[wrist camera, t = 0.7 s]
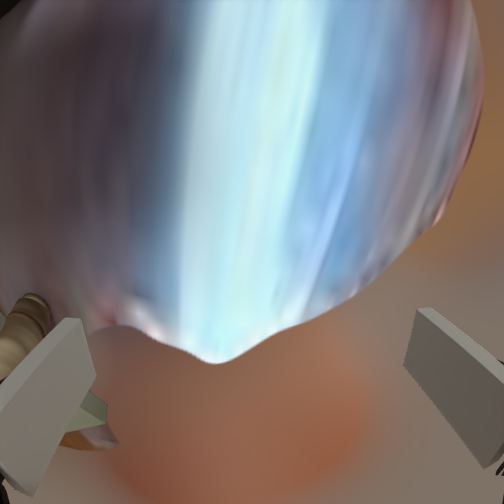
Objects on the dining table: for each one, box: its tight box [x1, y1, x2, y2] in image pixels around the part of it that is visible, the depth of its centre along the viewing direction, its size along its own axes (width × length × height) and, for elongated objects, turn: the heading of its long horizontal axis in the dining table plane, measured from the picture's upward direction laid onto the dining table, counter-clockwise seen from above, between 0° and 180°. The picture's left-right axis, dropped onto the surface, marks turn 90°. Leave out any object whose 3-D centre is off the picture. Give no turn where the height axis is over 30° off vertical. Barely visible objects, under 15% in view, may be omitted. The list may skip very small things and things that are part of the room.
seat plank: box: [0, 312, 108, 433], centre depth 25 cm, size 20×14×3 cm
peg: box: [0, 293, 51, 380], centre depth 18 cm, size 4×4×12 cm
